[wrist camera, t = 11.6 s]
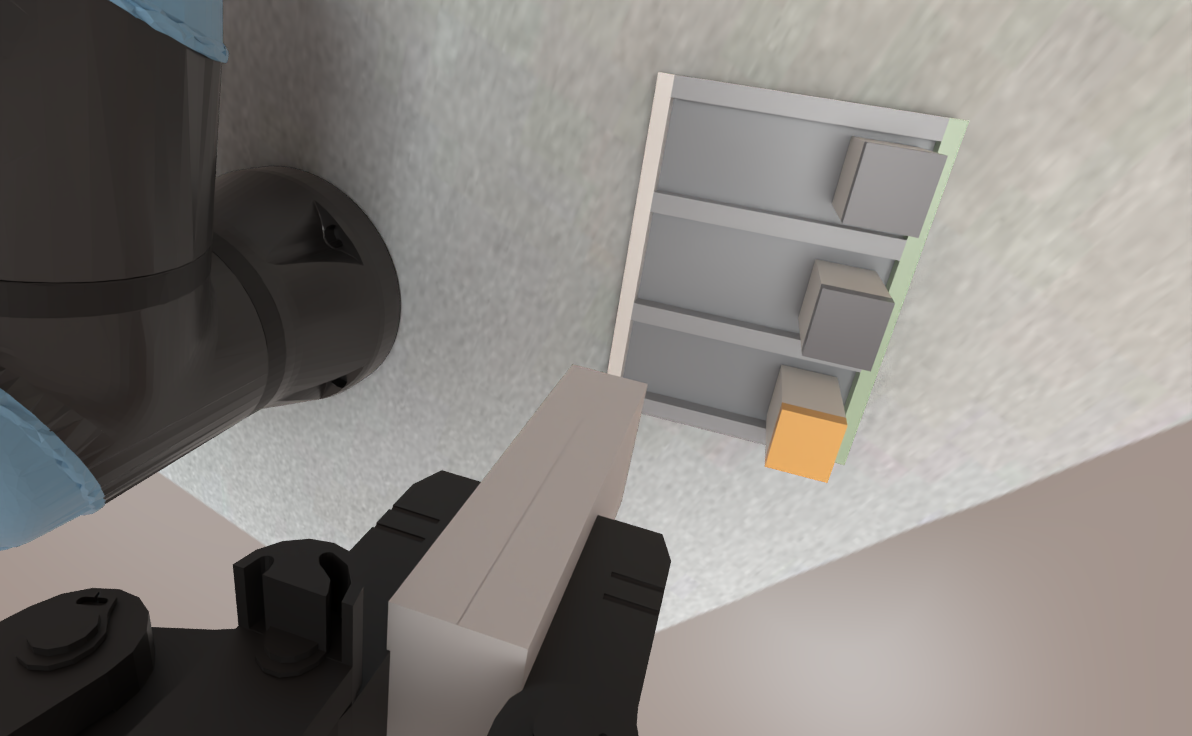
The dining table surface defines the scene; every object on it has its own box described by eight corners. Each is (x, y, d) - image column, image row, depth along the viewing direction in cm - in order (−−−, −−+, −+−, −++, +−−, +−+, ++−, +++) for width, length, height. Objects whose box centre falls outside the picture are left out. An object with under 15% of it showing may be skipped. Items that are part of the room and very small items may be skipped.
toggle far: (766, 415, 37) (764, 466, 31) (781, 364, 35) (782, 409, 30) (820, 428, 36) (827, 482, 31) (837, 377, 35) (847, 425, 30)
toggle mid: (798, 317, 34) (801, 356, 29) (815, 259, 33) (822, 288, 28) (856, 330, 34) (870, 371, 28) (876, 271, 32) (895, 303, 27)
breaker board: (610, 388, 40) (601, 403, 38) (665, 73, 33) (658, 71, 31) (840, 446, 37) (844, 465, 35) (956, 119, 30) (969, 120, 28)
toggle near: (831, 203, 32) (842, 223, 26) (851, 136, 30) (867, 142, 25) (895, 215, 31) (918, 238, 26) (918, 147, 30) (947, 155, 25)
